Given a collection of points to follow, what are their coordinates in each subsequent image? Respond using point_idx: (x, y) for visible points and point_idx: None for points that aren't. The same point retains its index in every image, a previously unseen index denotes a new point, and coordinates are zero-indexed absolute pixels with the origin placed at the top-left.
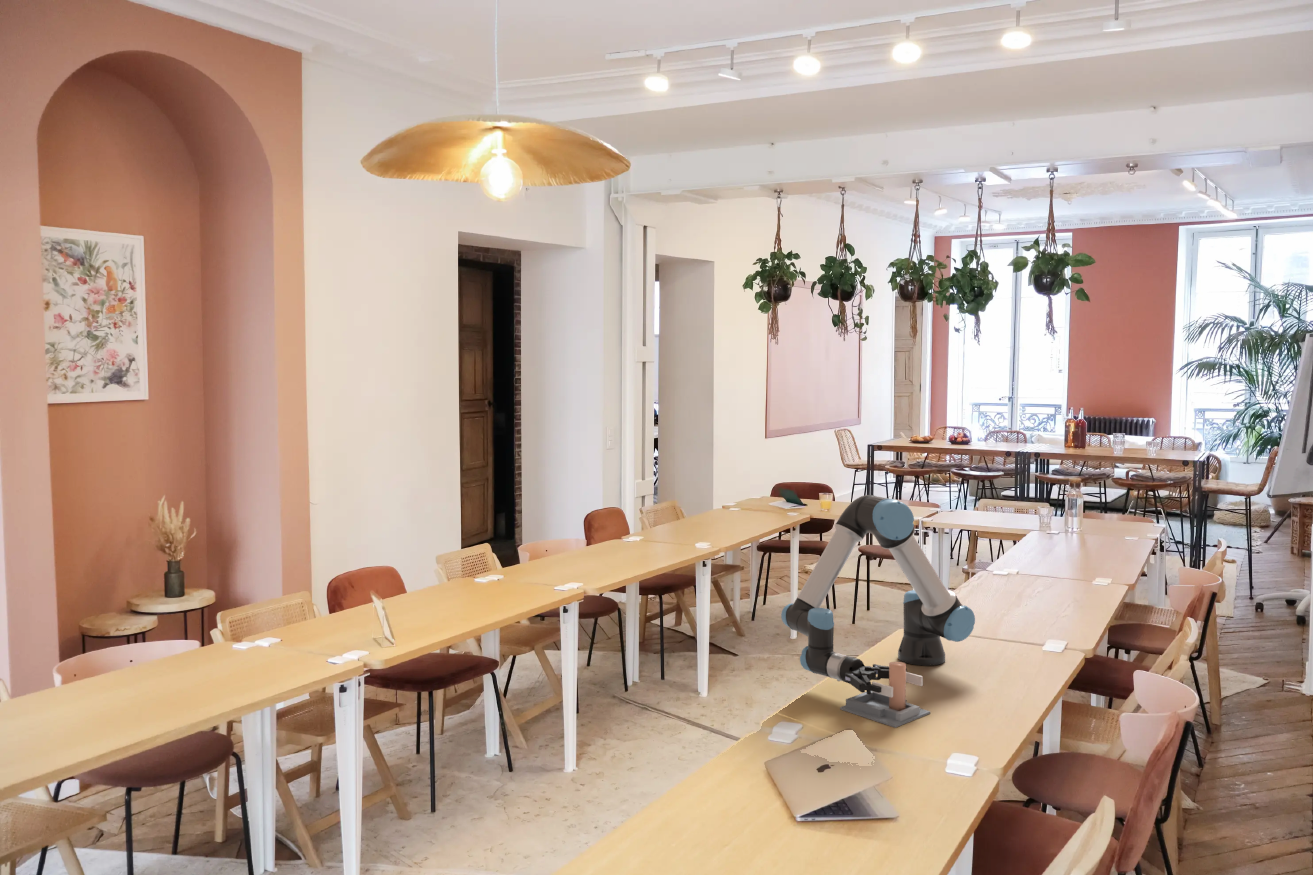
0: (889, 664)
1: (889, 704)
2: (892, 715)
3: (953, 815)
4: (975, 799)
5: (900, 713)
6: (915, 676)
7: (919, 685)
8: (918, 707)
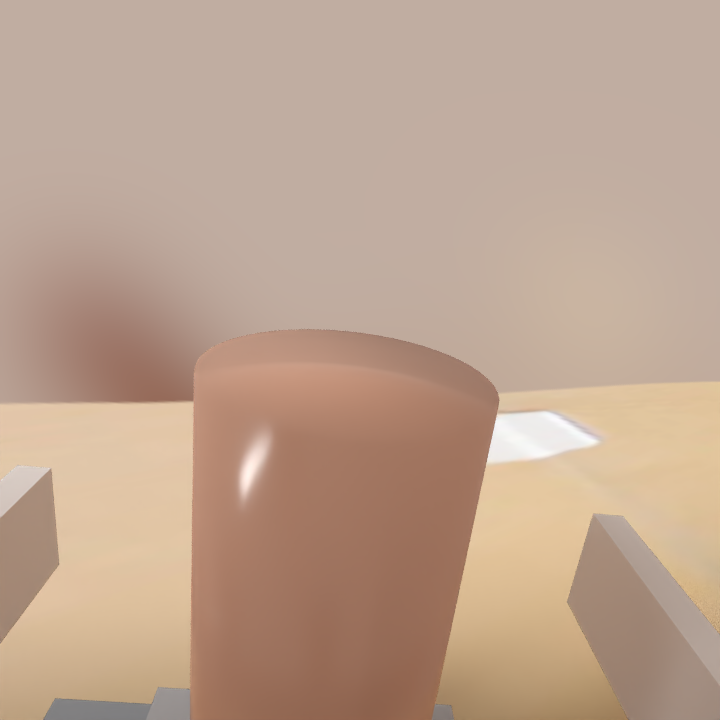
0: (484, 428)
1: None
2: None
3: (706, 395)
4: (618, 389)
5: (438, 715)
6: (4, 533)
7: (45, 579)
8: (176, 693)
